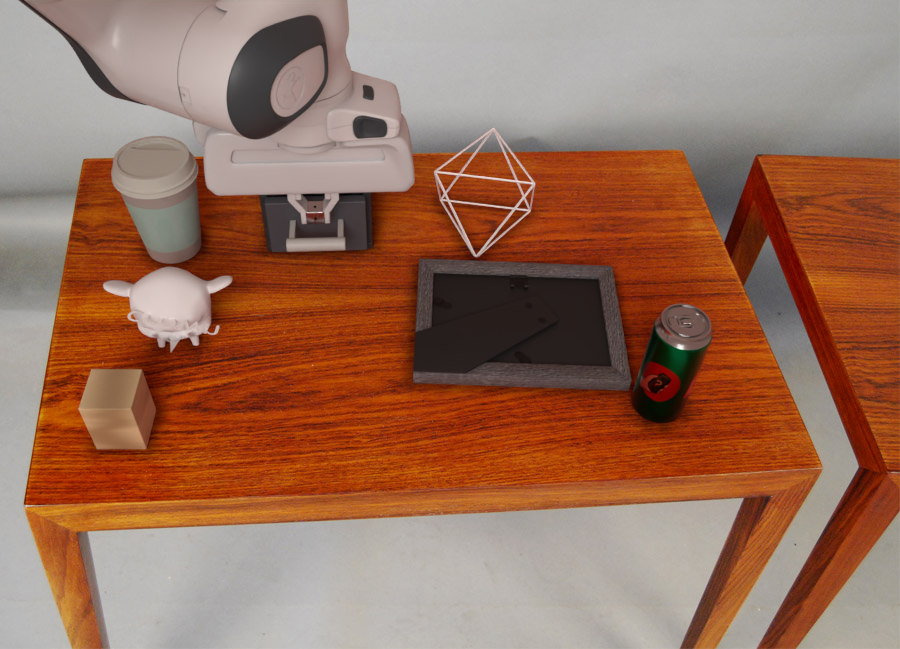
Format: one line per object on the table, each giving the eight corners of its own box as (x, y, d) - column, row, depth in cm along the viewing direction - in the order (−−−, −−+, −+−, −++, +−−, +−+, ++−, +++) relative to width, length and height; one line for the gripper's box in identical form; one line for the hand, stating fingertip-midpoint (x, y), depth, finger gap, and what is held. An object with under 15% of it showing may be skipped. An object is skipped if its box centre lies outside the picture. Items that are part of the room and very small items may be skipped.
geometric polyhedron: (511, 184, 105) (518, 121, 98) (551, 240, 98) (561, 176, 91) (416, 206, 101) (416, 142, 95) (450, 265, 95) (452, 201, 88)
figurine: (128, 323, 89) (105, 372, 80) (114, 248, 85) (88, 292, 76) (246, 317, 90) (235, 365, 82) (237, 244, 86) (225, 286, 78)
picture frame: (413, 383, 83) (628, 390, 84) (413, 369, 82) (632, 377, 82) (419, 268, 94) (609, 276, 94) (419, 255, 92) (613, 263, 93)
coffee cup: (230, 239, 96) (212, 151, 87) (175, 283, 91) (150, 194, 82) (174, 211, 99) (151, 123, 90) (117, 252, 94) (88, 163, 85)
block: (96, 449, 76) (77, 409, 72) (108, 409, 79) (91, 368, 75) (146, 449, 77) (131, 409, 72) (156, 410, 80) (142, 368, 75)
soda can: (687, 427, 81) (722, 343, 72) (634, 426, 81) (662, 342, 72) (676, 385, 84) (709, 300, 75) (625, 384, 84) (652, 299, 75)
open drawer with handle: (368, 277, 91) (366, 228, 86) (269, 280, 91) (261, 231, 86) (365, 190, 101) (363, 142, 96) (276, 191, 100) (270, 143, 96)
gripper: (184, 126, 75) (210, 243, 85) (416, 122, 77) (415, 237, 87) (192, 86, 80) (217, 202, 90) (412, 84, 81) (412, 198, 91)
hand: (316, 220), depth 88 cm, fingers closed
